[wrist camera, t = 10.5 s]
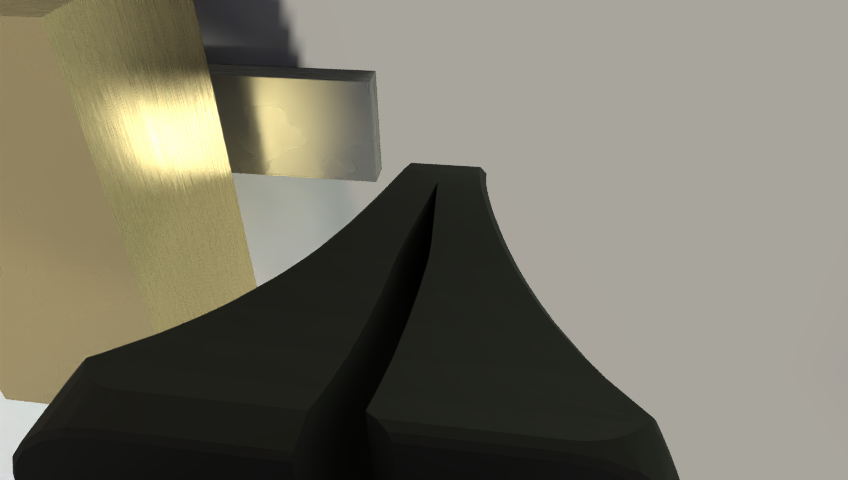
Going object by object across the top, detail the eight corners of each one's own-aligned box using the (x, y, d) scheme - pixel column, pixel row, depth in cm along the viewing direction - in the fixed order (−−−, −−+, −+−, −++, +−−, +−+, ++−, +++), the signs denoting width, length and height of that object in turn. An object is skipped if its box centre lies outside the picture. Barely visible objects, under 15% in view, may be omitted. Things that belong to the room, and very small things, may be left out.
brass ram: (257, 289, 16) (187, 420, 13) (107, 276, 17) (5, 398, 14) (180, -57, 11) (41, 17, 8) (-26, -61, 12) (-232, 7, 9)
